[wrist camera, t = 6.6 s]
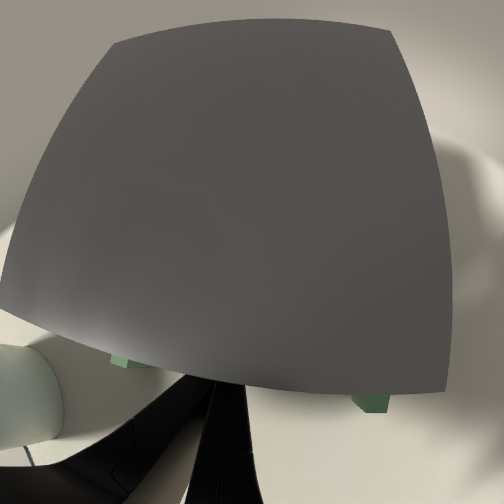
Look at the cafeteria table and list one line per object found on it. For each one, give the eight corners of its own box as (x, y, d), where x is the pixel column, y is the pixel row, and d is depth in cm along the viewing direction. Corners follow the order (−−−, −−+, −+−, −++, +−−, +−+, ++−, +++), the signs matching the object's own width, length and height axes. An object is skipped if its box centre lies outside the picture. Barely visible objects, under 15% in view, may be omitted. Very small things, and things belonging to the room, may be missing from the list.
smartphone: (56, 512, 11) (-13, 486, 11) (60, 510, 12) (-10, 486, 12) (24, 443, 13) (-33, 434, 14) (28, 442, 14) (-30, 433, 14)
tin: (330, 356, 14) (444, 390, 3) (179, 336, 15) (-4, 306, 4) (339, 211, 16) (390, 30, 5) (204, 201, 18) (114, 43, 6)
